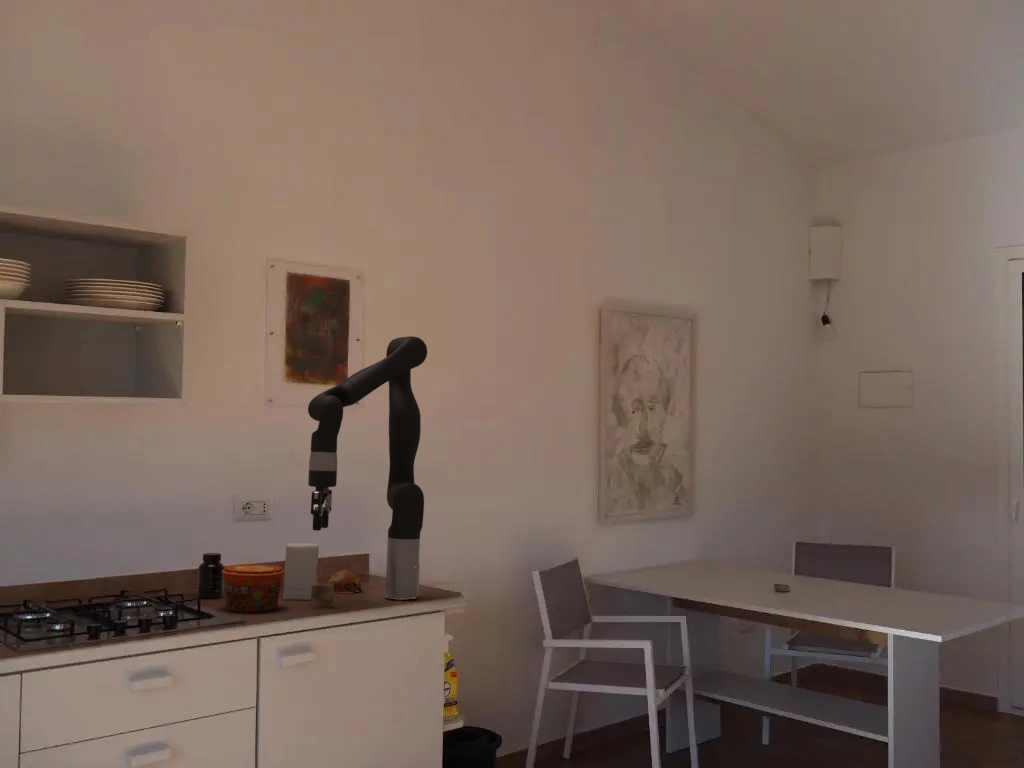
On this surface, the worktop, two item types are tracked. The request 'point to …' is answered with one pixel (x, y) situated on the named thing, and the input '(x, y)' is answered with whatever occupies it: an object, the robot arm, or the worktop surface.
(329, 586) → the walnut block
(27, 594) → the worktop surface
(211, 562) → the supplement bottle
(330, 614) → the worktop surface
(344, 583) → the bread roll
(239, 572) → the food container
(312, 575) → the supplement box
